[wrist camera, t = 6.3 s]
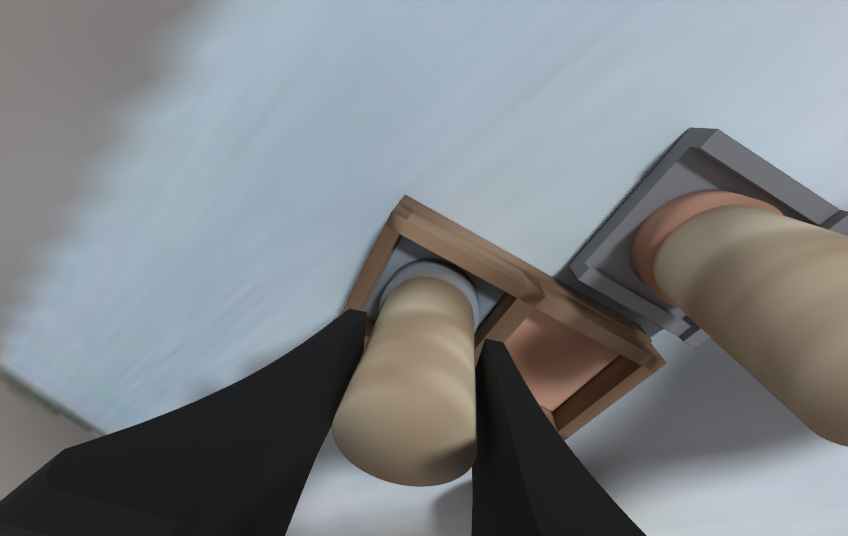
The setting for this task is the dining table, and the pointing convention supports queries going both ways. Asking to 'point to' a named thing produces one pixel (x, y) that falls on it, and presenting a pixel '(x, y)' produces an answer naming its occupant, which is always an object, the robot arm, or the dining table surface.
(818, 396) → the beige short cylinder
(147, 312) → the dining table surface
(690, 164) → the grey square tray
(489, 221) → the dining table surface
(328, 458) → the dining table surface
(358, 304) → the socket board
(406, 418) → the beige rounded cylinder
